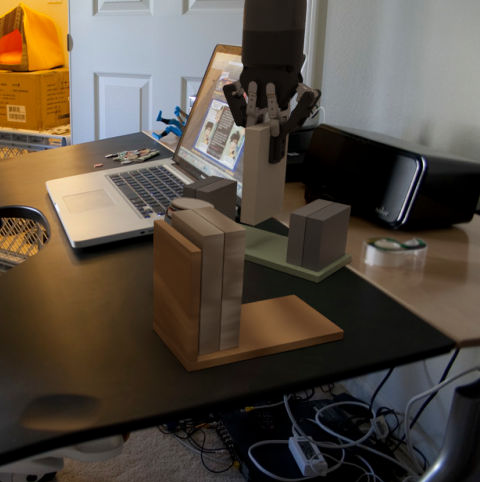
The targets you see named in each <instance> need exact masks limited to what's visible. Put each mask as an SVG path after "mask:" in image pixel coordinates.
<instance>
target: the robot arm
mask: <svg viewBox="0 0 480 482" xmlns="http://www.w3.org/2000/svg"><path fill="white" fill-rule="evenodd" d="M307 10H308V0H244V3H243V12H242V14H243V16H242V34H241V38H242V39H241V52H240V53H241V57H240V63H241V64H242V69H241V73H239V78H238V79H237V80H235V81H233V82H231V83H227V84H224V85H223V86H222V89H221V90H222V93H223V95H224V98H225V101H226V103H227V106H228V108H229V111H230V114H231V117H232V119H233V123H234V124H235V126H236V127H238V128H240V127H241V128H243V129H245V128H247V127H250V126H254V125H257V124H260V123H263V122H266V115H267V117H268V119H269V121H270V123H271V135H272V136H270V142H269V158H268V162H269V163H270V164H276V163H279V162H280V161H281V159H283V158H284V156H285V150H286V148H285V147H286V137H287V134H288V133H289V134H291V133H294V132H298V131H300V130H301V129H302V128H303V127H304V125H305V123H306V121H307V120H308V118H309V117H310V115H311V113H312V112H313V110H314V108H315V107H316V105H317V103H318V102H319V101H320V99H321V97H322V91H321V89H319V88H315V89H313V88H311V87H310V86H308V85H307V84H305V83H304V77H303V73H302V65H303V61H304V51H305V40H306V39H305V38H306V25H307V14H308V13H307V12H308V11H307ZM245 95H246V97H247V100H246V97H245ZM296 95H297V96H296ZM295 96H296V98H295V101H296V105H295V107H294V108H293V111H292V107H291V106H292V104H291V100H292V99H293V98H294V97H295ZM289 134H288V135H289Z"/></svg>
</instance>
